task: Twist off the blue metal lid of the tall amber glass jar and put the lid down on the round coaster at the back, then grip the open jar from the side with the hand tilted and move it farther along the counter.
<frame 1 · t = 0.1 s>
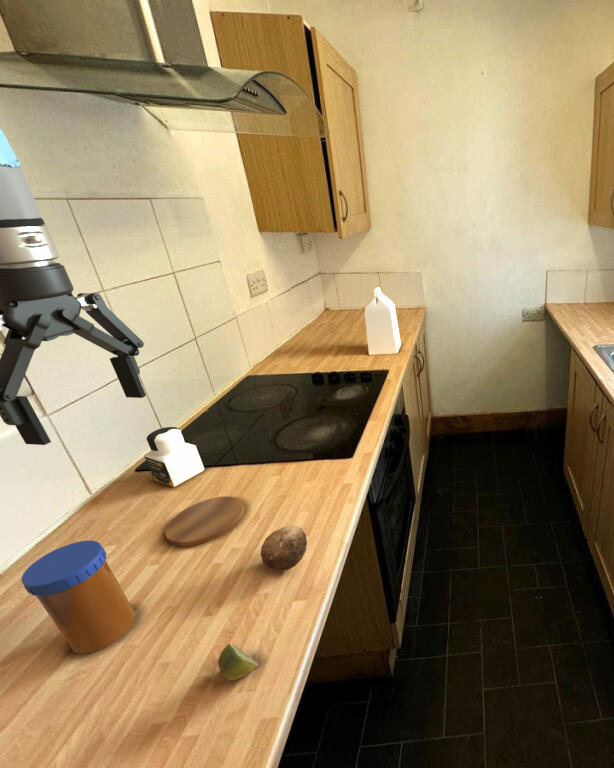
hand: (92, 417, 59), 31 cm above the table, tool pointing down, fingers open, 13 cm apart
coaster: (207, 521, 84), on the table
lid: (64, 563, 57), point 14 cm above the table, screwed on, not yet turned
milk: (385, 349, 179), on the table
lime: (243, 672, 57), on the table
medicine bottle: (180, 475, 98), on the table
jar: (105, 630, 63), on the table
brown oval lump: (288, 560, 75), on the table
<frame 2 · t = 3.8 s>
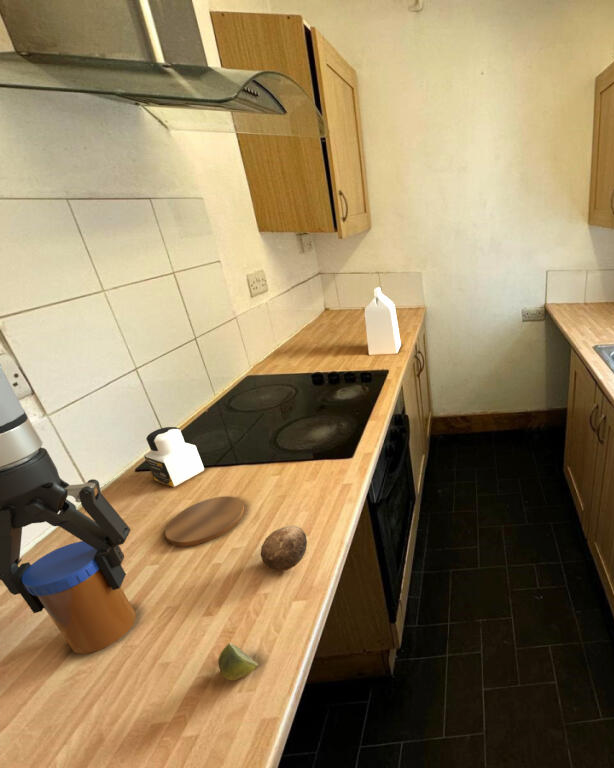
hand: (82, 592, 59), 8 cm above the table, tool pointing down, fingers closed on lid, 8 cm apart
lid: (64, 563, 57), point 14 cm above the table, screwed on, not yet turned, touching gripper
everything else where it was.
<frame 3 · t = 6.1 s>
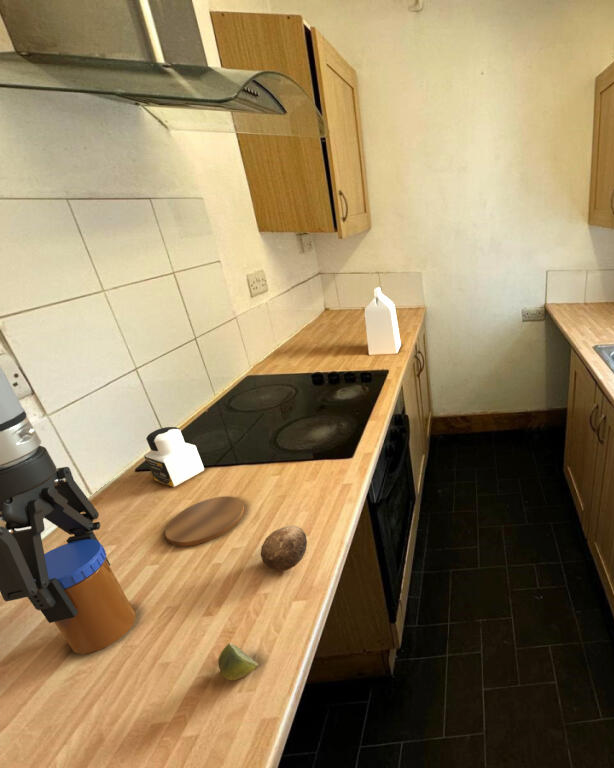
hand: (82, 591, 59), 8 cm above the table, tool pointing down, fingers closed on lid, 8 cm apart
lid: (63, 562, 57), point 14 cm above the table, turned 83° so far, risen 0.2 cm, still on its thread, touching gripper
everything else where it was.
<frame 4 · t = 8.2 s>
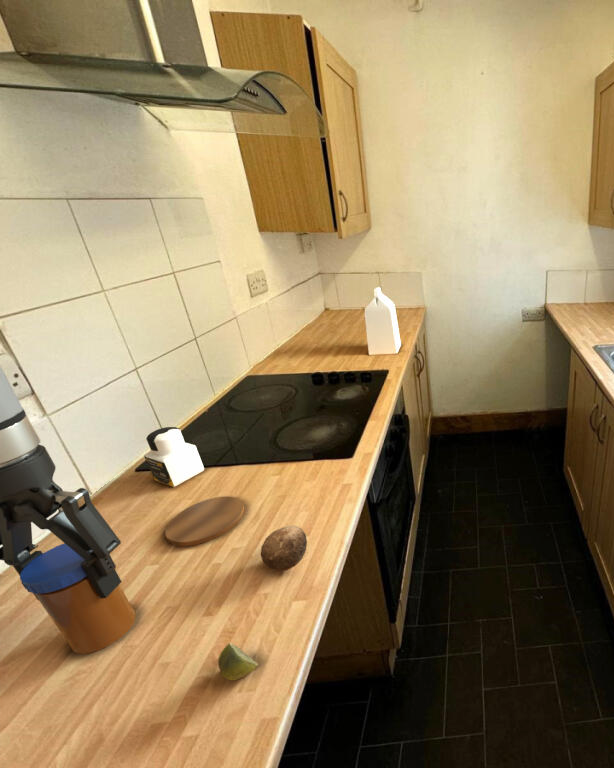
hand: (80, 590, 59), 8 cm above the table, tool pointing down, fingers closed on lid, 8 cm apart
lid: (62, 561, 57), point 14 cm above the table, off its thread, touching gripper
everything else where it was.
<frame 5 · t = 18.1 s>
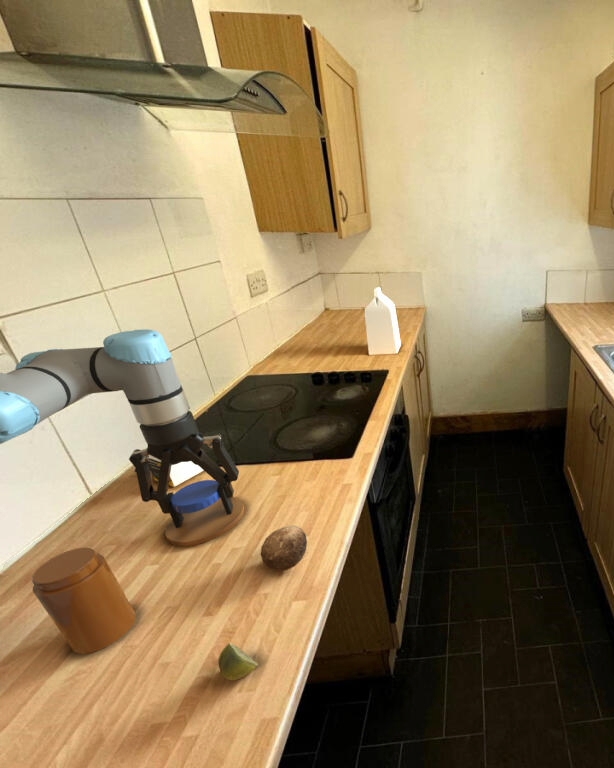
hand: (205, 516, 83), 1 cm above the table, tool pointing down, fingers closed on lid, 8 cm apart
lid: (196, 493, 81), point 7 cm above the table, off its thread, touching gripper
everything else where it was.
when the fingers open (4 cm above the table, at t = 32.4 s): lid drops 7 cm, resting on coaster.
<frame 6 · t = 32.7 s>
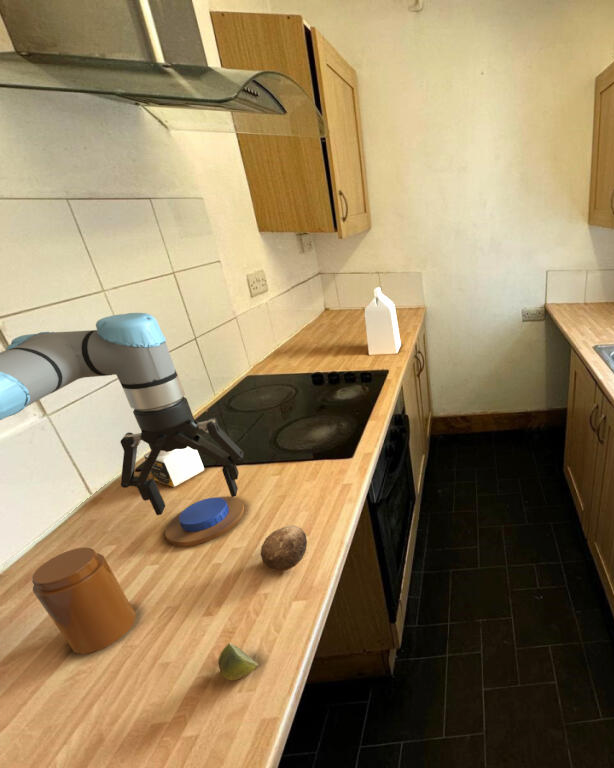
hand: (199, 501, 82), 5 cm above the table, tool pointing down, fingers open, 11 cm apart
lid: (203, 511, 83), point 2 cm above the table, off its thread, touching coaster
everything else where it was.
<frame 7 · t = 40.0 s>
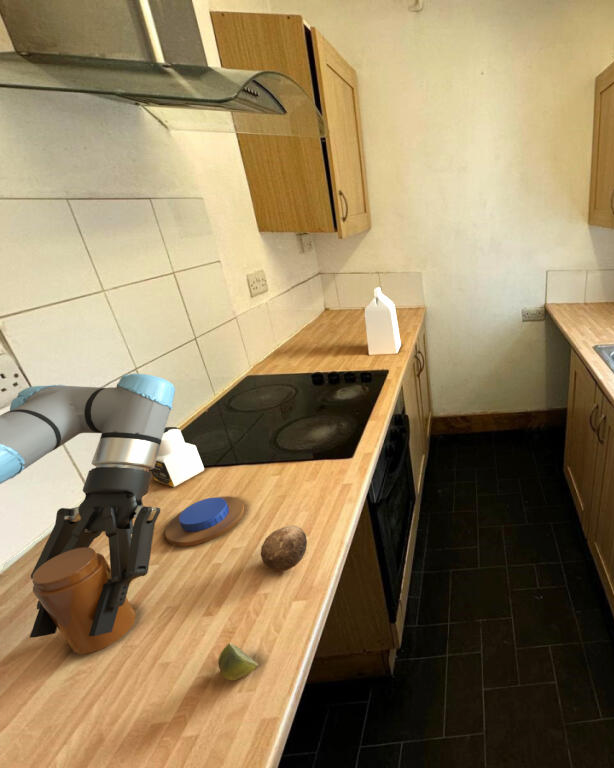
hand: (71, 634, 58), 4 cm above the table, tool tilted 45°, fingers closed on jar, 7 cm apart
jar: (105, 630, 63), on the table, touching gripper
everything else where it was.
when the fingers open (4 cm above the table, at t = 47.0 s): jar stays where it is, on the table.
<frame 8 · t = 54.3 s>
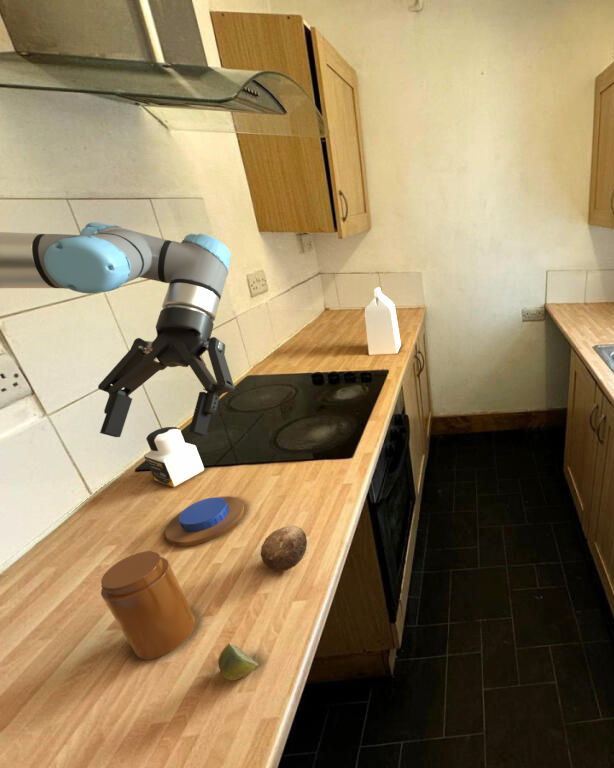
hand: (153, 434, 65), 26 cm above the table, tool tilted 45°, fingers open, 13 cm apart
jar: (166, 634, 62), on the table
everything else where it was.
at the end: lid came off its thread; lid inside the target area on the coaster (0.1 cm from its centre), point 2.5 cm above the coaster's base; jar inside the target area (0.0 cm from its centre), on the table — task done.
